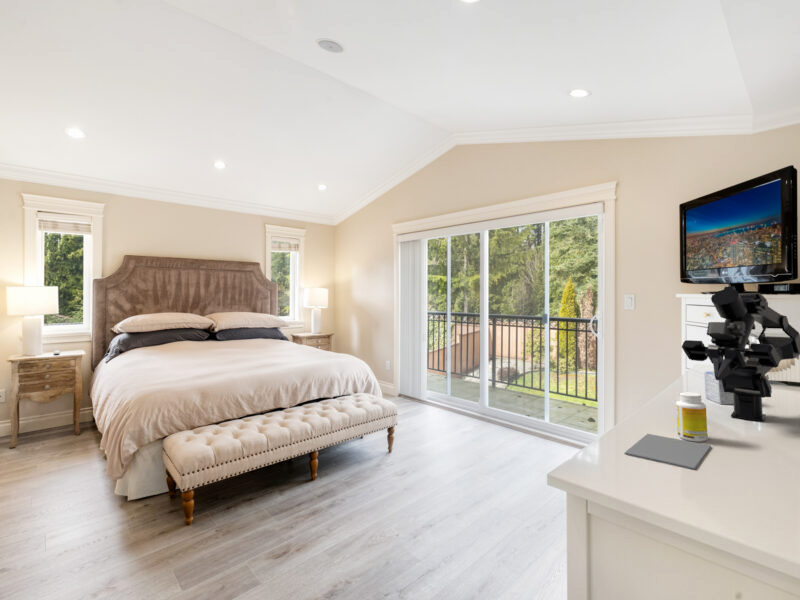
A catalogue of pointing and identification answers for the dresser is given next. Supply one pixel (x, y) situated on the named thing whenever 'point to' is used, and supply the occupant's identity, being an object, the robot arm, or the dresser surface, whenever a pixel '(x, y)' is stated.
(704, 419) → the supplement bottle
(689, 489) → the dresser surface
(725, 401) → the medicine box
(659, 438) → the mat
